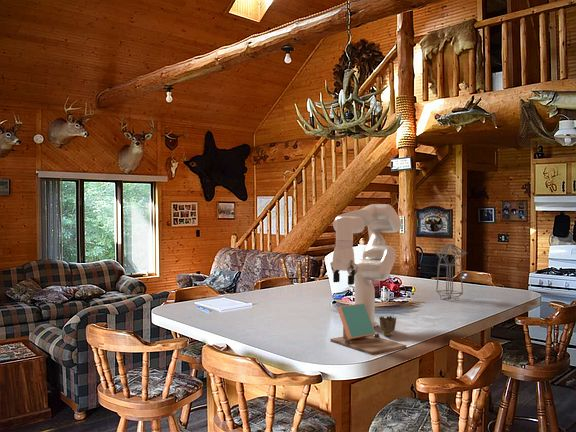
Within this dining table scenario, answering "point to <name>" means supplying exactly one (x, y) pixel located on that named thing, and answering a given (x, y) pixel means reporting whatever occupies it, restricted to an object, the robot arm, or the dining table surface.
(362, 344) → the walnut board
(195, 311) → the dining table surface
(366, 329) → the tile
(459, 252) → the geometric lantern
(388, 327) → the cup
